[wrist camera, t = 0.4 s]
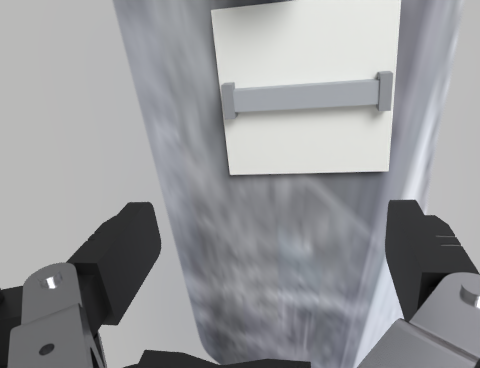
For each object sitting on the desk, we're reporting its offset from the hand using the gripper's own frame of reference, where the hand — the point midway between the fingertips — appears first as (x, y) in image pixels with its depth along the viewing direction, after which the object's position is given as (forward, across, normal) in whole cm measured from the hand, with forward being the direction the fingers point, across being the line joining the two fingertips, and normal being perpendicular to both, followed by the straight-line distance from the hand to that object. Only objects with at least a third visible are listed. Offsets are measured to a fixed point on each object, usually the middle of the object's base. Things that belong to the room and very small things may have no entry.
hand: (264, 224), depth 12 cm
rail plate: (+26, -1, +1) cm, 26 cm away
